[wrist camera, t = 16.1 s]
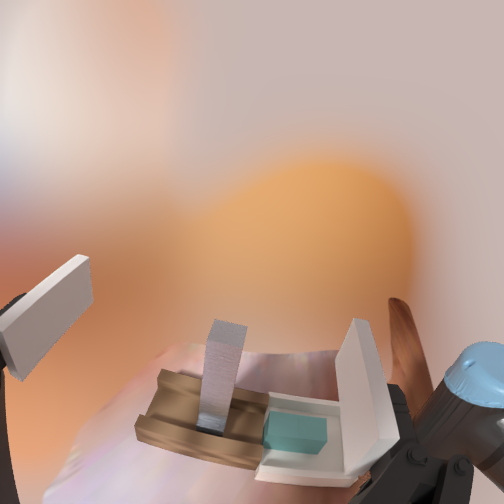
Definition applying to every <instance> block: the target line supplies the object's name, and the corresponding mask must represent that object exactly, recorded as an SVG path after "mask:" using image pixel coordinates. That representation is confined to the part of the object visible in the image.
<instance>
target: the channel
mask: <svg viewBox="0 0 504 504" xmlns="http://www.w3.org/2000/svg"><path fill="white" fill-rule="evenodd" d="M157 382H158V389H157V391H156V393H155V396H154V398H153V400H152V402H151V404H150V406H149V408H148V411H147V413H146V415H145V416H144V415H141V414H140V415H139V417H138V419H137V421H136V423H135V425H134V426H135V431H136V436H137V440H138V441H141V442H144V443H147V444H150V445H153V446H156V447H159V448H162V449H166V450H169V451H172V452H176V453H179V454H183V455H186V456H190V457H194V458H198V459H202V460H206V461H210V462H214V463H219V464H223V465H228V466H233V467H238V468H244V469H250V470H256V469H257V467H258V465H259V463H260V461H261V459H262V454H263V446H264V445H261V440H262V433H263V425H264V417H265V413H266V410H267V408H268V405H269V396H270V395H269V394H264V393H259V392H254V391H249V390H244V389H239V388H235V387H234V389H233V394H232V398H231V402H230V407H229V411H228V415H227V420H226V424H225V428H224V432H223V437H218V436H213V435H209V434H205V433H201V432H197V431H195V430H196V424H197V420H198V415H199V405H200V396H201V387H202V380H201V379H197V378H193V377H189V376H186V375H182V374H179V373H175V372H172V371H168V370H165V369H161V371H160V373H159V376H158V378H157Z"/></svg>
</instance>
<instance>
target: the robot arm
mask: <svg viewBox="0 0 504 504" xmlns="http://www.w3.org/2000/svg"><path fill="white" fill-rule="evenodd" d="M92 303H93V294H92V284H91V273H90V259H89V257H86V256H83V255H79V254H77V255H76V256H75V257H73V258H72V259H71V260H69V261H68V262H66V263H65V264H64V265H63V266H61V267H60V268H59V269H57V270H56V271H55V272H53V273H52V274H51V275H50V276H48V277H47V278H46V279H45V280H43V281H42V282H41V283H40V284H38V285H37V286H36V287H35V288H33V289H32V290H31V291H30V292H29V293H24V294H21V295H19V296H17V297H15V298H14V299H13V300H12V301H11V302H9V304H7V305H6V306H5V307H4V308H3V309H1V310H0V504H20V502H19V498H18V494H17V489H16V485H15V480H14V475H13V470H12V464H11V457H10V451H9V442H8V434H7V424H6V409H5V380H4V379H5V376H4V371H3V368H4V367H5V366H6V365H7V367H8V370H9V372H10V374H11V375H12V376H14V377H15V378H17V379H18V380H20V381H22V382H23V380H24V379H25V378H26V377H27V375H28V374H29V373H30V372H31V371H32V370H33V369H34V367H35V366H36V365H37V364H38V362H39V361H40V360H41V359H42V358H43V357H44V356H45V355H46V353H47V352H48V351H49V350H50V349H51V348H52V346H53V345H54V344H55V343H56V342H57V341H58V340H59V339H60V337H61V336H62V335H63V334H64V333H65V332H66V331H67V330H68V329H69V328H70V326H71V325H72V324H73V323H74V322H75V321H76V320H77V319H78V318H79V317H80V316H81V314H83V312H84V311H85V310H86V309H87V308H88V307H89V306H90V305H91V304H92ZM335 368H336V377H337V386H338V395H339V405H340V415H341V427H342V439H343V453H344V469H345V475H364V474H365V473H366V472H367V471H369V470H370V473H371V478H370V479H369V480H367V481H366V482H365V483H364V484H363V485H362V486H361V487H359V488H361V489H360V490H359V491H358V493H357V494H356V495H355V496H354V497H353V498H352V499H351V500H350V502H349V503H348V504H469V501H470V495H471V489H472V482H473V475H474V467H473V465H474V466H476V467H477V468H478V469H479V470H480V471H481V472H482V473H483V474H484V475H485V476H487V478H489V479H490V480H491V481H492V482H493V483H494V484H495V485H496V486H497V487H498V488H499V489H501V491H502V492H504V345H503V344H500V343H496V342H478V343H474V344H472V345H470V346H468V347H467V348H466V349H464V351H463V352H462V353H461V354H460V356H459V357H458V358H457V360H456V361H455V363H454V364H453V365H452V366H451V367H450V368H449V369H448V370H447V371H446V373H445V376H444V378H443V380H442V381H441V383H440V384H439V385H438V387H437V388H436V390H435V391H434V392H433V394H432V395H431V396H430V398H429V399H428V400H427V402H426V403H425V404H424V405H423V407H422V408H421V409H420V410H419V412H418V413H417V414H416V415H415V416H414V418H412V419H411V416H410V414H409V409H408V406H407V402H406V398H405V395H404V393H403V392H402V390H401V389H400V388H399V386H398V385H395V384H387V383H386V379H385V375H384V372H383V368H382V365H381V361H380V358H379V354H378V350H377V347H376V344H375V340H374V337H373V334H372V331H371V328H370V324H369V321H368V320H363V319H357V318H353V321H352V323H351V325H350V327H349V330H348V332H347V334H346V337H345V339H344V341H343V343H342V346H341V348H340V350H339V352H338V354H337V356H336V358H335Z"/></svg>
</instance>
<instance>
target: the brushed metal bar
mask: <svg viewBox="0 0 504 504" xmlns="http://www.w3.org/2000/svg"><path fill="white" fill-rule="evenodd" d="M246 331H247V326H243V325H238V324H234V323H229V322H225V321H220V320H216V319H215V321H214V323H213V325H212V328H211V331H210V333H209V336H208V339H207V344H206V352H205V361H204V369H203V378H202V387H201V396H200V405H199V415H198V420H197V424H196V430H195V431H197V432H201V433H205V434H209V435H213V436H218V437H223V432H224V428H225V424H226V420H227V415H228V411H229V407H230V402H231V398H232V394H233V389H234V385H235V380H236V376H237V372H238V367H239V363H240V358H241V354H242V349H243V345H244V340H245V336H246Z"/></svg>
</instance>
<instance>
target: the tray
mask: <svg viewBox="0 0 504 504" xmlns="http://www.w3.org/2000/svg"><path fill="white" fill-rule="evenodd" d="M268 394H269V395H270V396H269V405H268V408H267V410H266V413H265V417H264V425H265V422H266V420H267V417H268V415H269V412H270V411H276V412H282V413H289V414H295V415H303V416H311V417H319V418H326V419H327V443H326V444H325V445H324V447H323V448H322V449H321V451H320V452H319V453H318V455H316V454H305V453H296V452H287V451H280V450H273V449H266V448H263V454H262V459H261V461H260V463H259V465H258V467H257V469H256V472H255V479H254V480H259V481H266V482H274V483H282V484H292V485H303V486H318V487H350V486H351V485H352V484H353V483H354V482H355V481H357V480H358V475H345V469H344V453H343V439H342V427H341V415H340V405H339V402H338V401H330V400H322V399H314V398H307V397H300V396H294V395H288V394H282V393H276V392H270V391H269V393H268ZM264 425H263V431H264ZM262 439H263V433H262ZM261 445H262V440H261Z"/></svg>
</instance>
